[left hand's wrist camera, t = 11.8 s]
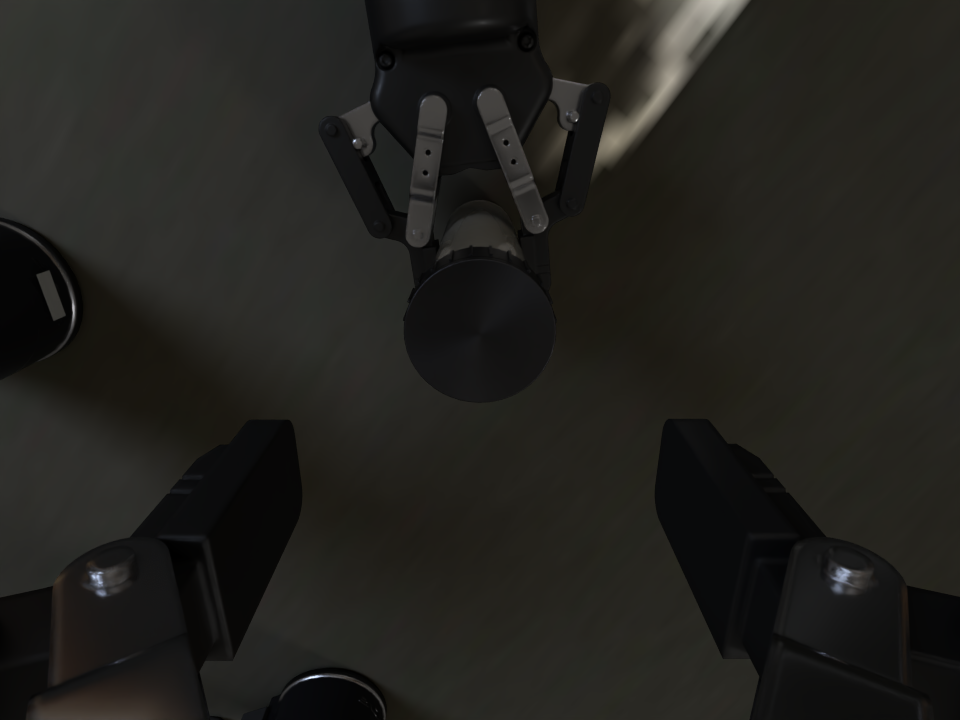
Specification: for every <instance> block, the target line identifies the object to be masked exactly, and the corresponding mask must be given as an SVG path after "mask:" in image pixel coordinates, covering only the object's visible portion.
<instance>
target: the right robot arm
mask: <svg viewBox="0 0 960 720" xmlns="http://www.w3.org/2000/svg"><path fill="white" fill-rule="evenodd" d="M365 5H366V11H367V17H368V23H369V29H370V35H371V41H372V47H373V53H374V59H375V79H374V83H373V86H372V89H371V93H370V102H368V103H366V104H364V105H362V106H360V107H357V108H355V109H353V110H351V111H349V112H347V113H345V114H343V115H341V116H339V117H336V116H327V117H325V118H323V119H322V120H321V122H320V124H319V134H320V136H321V138H322V140H323V142H324V144H325V146H326V148H327V150H328V152H329V154H330V156H331V158H332V160H333V162H334V164H335V166H336V168H337V170H338V172H339V174H340V176H341V178H342V180H343V182H344V184H345V186H346V188H347V190H348V192H349V194H350V196H351V198H352V200H353V201H354V203H355V205H356V207H357V209H358V211H359V213H360V215H361V217H362V219H363V221H364V223H365V225H366V227H367V229H368V231H369V233H370V234H371V235H372V236H373V237H375V238H388V239H392V240H396V241H400V242H402V243H403V244H404V245H405V246H406V247H407V248H408V250H409V253H410V258H411V265H412V271H413V277H414V283H415V289H416V286H417V283H418V280H419V278H420V275H421V273H422V272H424V273H425V272H426V271H427V270H428V269H429V267H430V266H432V265H433V262H434V260H435V258H436V255H437V252H438V249H439V240H438V239H437V240H434V234H433V228H434V222H435V215H436V208H437V201H438V195H439V190H440V184H441V177H442V176H443V175H452V174H455V173H458V172H460V171H463V170H465V169H467V168H476V169H482V170H492V169H500V168H501V169H502V172H503V174H504V177H505V179H506V182H507V184H508V187H509V189H510V192H511V194H512V197H513V199H514V202H515V204H516V207H517V209H518V212H519V214H520V220H521V230H518V240H519V244H520V247H521V249H522V252H523V255H524V258H525V260H526V261H527V263H528V266H529V267H530V268H531V269H532V270H533V271H534V272H535V273H536V274H537V273H539V275H540V277H541V279H542V282H543V284H544V286H543V287H544V289H545V290H546V289H547V290H548V291H549V288H550V285H551V276H550V262H549V249H548V233H549V230H550V228H551V227H552V226H553V225H554V224H555V223H557V222H559V221H561V220H563V219H565V218H567V217H569V216H571V217H572V216H576V215H578V214H580V213H581V211H582V210H583V208H584V205H585V201H586V196H587V192H588V188H589V184H590V180H591V176H592V172H593V168H594V164H595V159H596V155H597V151H598V147H599V143H600V139H601V135H602V131H603V126H604V122H605V118H606V114H607V110H608V106H609V102H610V91H609V89H608V87H607V86H606V85H605V84H603V83H592V84H589V85H586V84H581V83H576V82H571V81H566V80H561V79H556V78H553V77H552V73H551V70H550V68H549V67H548V65H547V63H546V62H545V60H544V58H543V56H542V53H541V50H540V46H539V38H538V24H537V9H536V0H365ZM548 100H549V101H551V102H552V103H553V104H554V105H555V106H556V108H557V121H558V124H559V126H560V127H561V128H562V129H564V130H567V131H568V135H567V140H566V144H565V149H564V153H563V158H562V162H561V167H560V171H559V176H558V180H557V185H556V189H555V192H553V193H551V194H549V195H547V196H545V197H543V198H541V197H540V194H539V192H538V189H537V187H536V184H535V180H534V177H533V175H532V172H531V169H530V167H529V164H528V161H527V159H526V156H525V154H524V151H523V148H522V147H523V145H524V143H525V141H526V139H527V137H528V136H529V134H530V132H531V130H532V128H533V127H534V125H535V123H536V121H537V119H538V117H539V116H540V114H541V112H542V110H543V108H544V107H545V105H546V103H547V101H548ZM379 122H380V123H381V124H382V125H383V126H384V127H385V128H386V129H387V130H388V131H389V133H390V134H391V135H392V136H393V137H394V138H395V139H396V140H397V141H398V142H399V144H400V145H401V146H402V147H403V148H404V149H405V150H406V151H407V152H408V153H409V154H410V156H411V157H412V158H413V159H414V163H413V170H412V178H411V186H410V202H409V210H408V214H406V213H402V212H398V211H395V209H394V207H393V205H392V203H391V201H390V199H389V197H388V195H387V193H386V191H385V189H384V186H383V184H382V182H381V180H380V178H379V176H378V174H377V172H376V170H375V168H374V166H373V164H372V162H371V159H370V157H369V155H371V154H372V153H373V152H374V151H375V149H376V139H375V136H374V131H375V127H376V125H377V124H378V123H379ZM82 313H83V303H82V296H81V292H80V288H79V285H78V282H77V280H76V278H75V275H74V274H73V272H72V270H71V268H70V267H69V265H68V264H67V262H66V261H65V259H64V258H63V257H62V255H61V254H60V253H59V252H58V251H57V250H56V249H55V248H54V247H53V246H52V245H51V244H50V243H49V242H48V241H46V240H45V239H44V238H43V237H41V236H40V235H38V234H37V233H36V232H34V231H32V230H31V229H29V228H27V227H25V226H23V225H21V224H19V223H16V222H14V221H11V220H7V219H4V218H0V380H2V379H4V378H6V377H8V376H10V375H12V374H14V373H16V372H18V371H20V370H21V369H23V368H25V367H27V366H29V365H31V364H33V363H35V362H37V361H41V360H43V359H46V358H48V357H50V356H52V355H54V354H55V353H57V352H59V351H61V350H62V349H64V348H65V347H66V346H67V345H68V344H69V343H70V342H71V341H72V340H73V339H74V337H75V335H76V334H77V332H78V330H79V327H80V324H81V320H82Z"/></svg>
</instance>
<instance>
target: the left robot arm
mask: <svg viewBox="0 0 960 720" xmlns="http://www.w3.org/2000/svg"><path fill="white" fill-rule="evenodd" d="M182 477H183V478H182V479H179V481H178V482H177V483H176V484H175V485H174V486H173V488H172V489H171V490H170V494H167V495H166V496H165V497H164V498H163V499H162V500H161V502H160V503H159V504H158V505H157V506H156V507H155V509H154V510H153V511H152V512H151V513H150V514H149V516H148V517H147V518H146V519H145V520H144V521H143V523H142V524H141V525H140V526H139V527H138V528H137V530H136V531H135V532H134V533H133V534H132V535H131V537H130V538H124V539H119V540H116V541H112V542H109V543H106V544H103V545H101V546H99V547H96V548H94V549H92V550H90V551H88V552H86V553H84V554H83V555H81V556H80V557H78V558H77V559H75V560H74V561H73V562H71V563H70V564H69V565H68V566H67V567H66V568H65V569H64V570H63V571H62V572H61V573H60V574H59V576H58V577H57V579H56V581H55V583H54V586H51V587H47V588H43V589H38V590H34V591H29V592H24V593H20V594H15V595H10V596H6V597H1V598H0V720H223V719H221V718H219V717H214V716H210V715H209V711H208V706H207V702H206V697H205V693H204V689H203V685H202V681H201V677H200V673H199V671H200V669H201V667H202V666H203V664H204V662H205V661H233V659H234V657H235V655H236V652H237V650H238V648H239V646H240V644H241V642H242V640H243V637H244V635H245V633H246V631H247V629H248V627H249V625H250V622H251V620H252V618H253V616H254V614H255V612H256V609H257V607H258V605H259V603H260V601H261V599H262V597H263V594H264V592H265V590H266V588H267V586H268V584H269V582H270V579H271V577H272V575H273V573H274V571H275V569H276V567H277V564H278V562H279V560H280V558H281V556H282V554H283V552H284V549H285V547H286V545H287V543H288V541H289V539H290V536H291V534H292V532H293V530H294V528H295V526H296V524H297V521H298V519H299V516H300V512H301V506H302V484H301V477H300V469H299V462H298V455H297V447H296V440H295V433H294V428H293V425H292V423H291V421H290V420H249V421H247V422H246V424H245V425H244V426H243V427H242V429H241V430H240V431H239V432H238V434H237V435H236V436H235V437H234V439H233V440H232V441H231V442H230V444H229V445H219V446H217V447H216V448H214V449H213V450H211V451H209V452H208V453H206V454H204V455H203V456H201V457H200V458H198V459H197V460H196V461H195V462H194V463H193V464H192V466H191V467H190V468H189V469H188V470H187V471H186V472H185V474H184V475H183V476H182ZM655 504H656V511H657V515H658V518H659V520H660V523H661V525H662V527H663V529H664V531H665V534H666V536H667V538H668V540H669V542H670V544H671V547H672V549H673V551H674V553H675V555H676V558H677V560H678V562H679V564H680V566H681V568H682V571H683V573H684V575H685V577H686V579H687V581H688V584H689V586H690V588H691V590H692V592H693V595H694V597H695V599H696V601H697V603H698V605H699V608H700V610H701V612H702V614H703V616H704V618H705V621H706V623H707V625H708V627H709V629H710V632H711V634H712V636H713V638H714V640H715V642H716V645H717V647H718V649H719V651H720V653H721V655H722V658H723V659H751V661H752V663H753V665H754V667H755V669H756V671H757V673H758V675H759V681H758V685H757V689H756V693H755V697H754V702H753V706H752V711H751V715H750V719H749V720H960V597H957V596H953V595H948V594H943V593H939V592H934V591H929V590H925V589H920V588H915V587H911V586H907V585H906V583H905V581H904V579H903V577H902V576H901V574H900V573H899V572H898V571H897V570H896V569H895V568H894V567H893V566H892V565H891V564H890V563H889V562H887V561H886V560H885V559H883V558H882V557H880V556H879V555H877V554H876V553H874V552H872V551H870V550H868V549H866V548H864V547H861V546H859V545H857V544H854V543H851V542H848V541H844V540H841V539H836V538H830V537H826V536H825V535H824V534H823V532H822V531H821V530H820V529H819V528H818V527H817V525H816V524H815V523H814V522H813V521H812V519H811V518H810V517H809V516H808V515H807V514H806V512H805V511H804V510H803V509H802V508H801V507H800V505H799V504H798V503H797V502H796V501H795V500H794V498H793V497H792V496H791V495H790V494H789V493H786V491H785V488H784V487H783V485H782V484H781V483H780V482H779V481H778V480H777V478H774V475H773V474H772V472H771V471H770V470H769V469H768V468H767V467H766V465H765V464H764V463H763V462H762V461H761V460H760V458H758V457H757V456H755V455H753V454H752V453H750V452H749V451H747V450H745V449H744V448H742V447H741V446H739V445H737V444H727V442H726V441H725V440H724V439H723V437H722V436H721V435H720V433H719V432H718V431H717V430H716V428H715V427H714V426H713V425H712V423H711V422H710V421H709V420H707V419H668V420H667V421H666V422H665V424H664V427H663V432H662V439H661V446H660V454H659V461H658V469H657V476H656V484H655ZM386 712H387V706H386V702H385V699H384V697H383V695H382V693H381V692H380V690H379V689H378V688H377V687H376V686H375V685H374V684H373V683H372V682H370V681H369V680H367V679H366V678H364V677H362V676H360V675H358V674H356V673H353V672H350V671H346V670H341V669H330V668H326V669H316V670H311V671H307V672H305V673H302V674H300V675H298V676H296V677H295V678H293V679H292V680H291V681H290V682H289V683H288V684H287V685H286V686H285V687H284V689H283V691H282V693H281V694H280V695H278V696H275V697H273V698H272V699H271V702H270V705H269V707H268V708H267V707H264V708H261V709H258V710H255V711H252V712H249V713H245V714H244V715H243V717H242V720H385V719H386Z"/></svg>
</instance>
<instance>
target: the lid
mask: <svg viewBox="0 0 960 720" xmlns="http://www.w3.org/2000/svg"><path fill="white" fill-rule="evenodd" d="M543 286H544V284H543V282H542V279H541V277H540V275H539V273H537V274H536V273H535V272H534V271H533V270H532V269H531V268H530V267H529V266H528V263H527V261H526V260H524V261H522V260H521V259H519V258H518V257H516V256H514V255H513V254H511V251H509V250H508V251H507V252H506V251H503V250H500V249H496V248H492V245H489V247H473V245H469V248H464V249H460V250H457V251H454V250H451V251H450V253H449V254H447V255H445V256H444V257H442V258H441V259H439V260H437V259H435V260H434V262H433V265H432V266H430V267H429V269H428V270H427V271H426V272H425V273H424V272H422V273H421V275H420V278H419V280H418V283H417V286H416V289H415V288H413V289H412V292H411V294H410V297H409V299H408V301H407V302H409V306H408V308H407V311H406V313H405V316H404V318H403V321H405V322H404V340H405V345H406V349H407V352H408V355H409V357H410V360H411V362H412V364H413V365H414V367H415V369H416V370H417V371H418V373H419V374H420V375H421V377H422V378H423V379H424V380H425V381H426V382H427V383H428V384H430V385H431V386H432V387H433V388H435V389H436V390H438V391H440V392H441V393H443V394H445V395H447V396H450V397H452V398H455V399H458V400H462V401H467V402H477V403H482V402H493V401H498V400H502V399H505V398H508V397H510V396H513V395H515V394H517V393H519V392H520V391H522V390H524V389H525V388H526V387H528V386H529V385H530V384H532V383H533V382H534V381H535V380H536V379H537V378H538V377H539V375H540V374H541V373H542V371H543V370H544V369H545V367H546V365H547V364H548V362H549V360H550V357H551V355H552V352H553V349H554V345H555V340H556V323H555V322H557V319H556V317H555V314H554V312H553V309H552V306H551V304H553V302H552V299H551V297H550V294H549V292H548V290H547V289H546V290H545V289H544V287H543Z"/></svg>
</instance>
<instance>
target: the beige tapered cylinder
mask: <svg viewBox="0 0 960 720" xmlns="http://www.w3.org/2000/svg"><path fill="white" fill-rule="evenodd" d="M469 245H473V247H489V245H492V248H496V249H500V250H503V251H506V252H507V251H508V250H509V251H511V254H513V255H514V256H516V257H518V258H519V259H521V260H522V261H524V260H525V258H524V255H523V252H522V249H521V247H520V244H519V241H518V238H517V235H516V232H515V229H514V226H513V224H512V221H511V219H510V217H509V215H508V214H507V213H506V212H505V210H504V209H502V208H501V207H500V206H499V205H497V204H495V203H493V202H490V201H486V200H474V201H470V202H467V203H465V204H463V205H461V206H460V207H458V208H457V209H456V210H455V211H454V212H453V214H452V215H451V217H450V218H449V221H448V223H447V226H446V229H445V232H444V235H443V237H442V240H441V243H440V246H439V249H438V252H437V255H436V258H435V259H437V260H439V259H441V258H442V257H444V256H445V255H447V254H449V253H450V251H451V250H454V251H457V250H460V249H464V248H469Z"/></svg>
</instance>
